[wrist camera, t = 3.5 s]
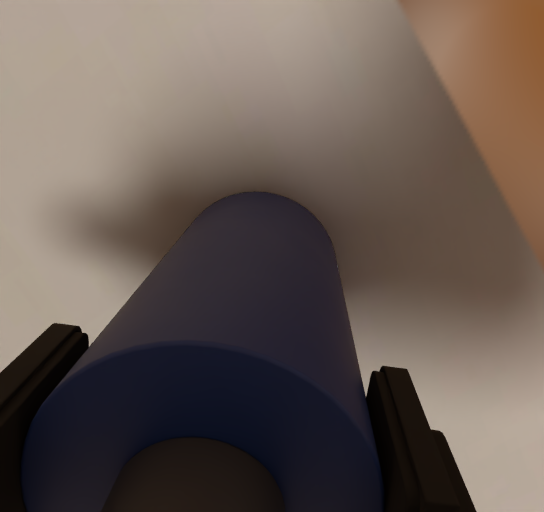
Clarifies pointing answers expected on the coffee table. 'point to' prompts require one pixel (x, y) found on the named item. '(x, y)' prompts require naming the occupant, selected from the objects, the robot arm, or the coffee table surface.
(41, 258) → the coffee table surface
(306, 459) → the water bottle
